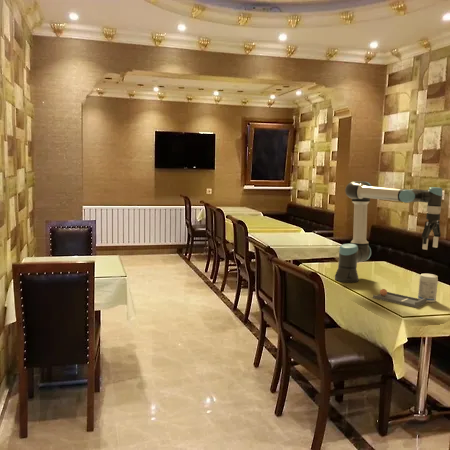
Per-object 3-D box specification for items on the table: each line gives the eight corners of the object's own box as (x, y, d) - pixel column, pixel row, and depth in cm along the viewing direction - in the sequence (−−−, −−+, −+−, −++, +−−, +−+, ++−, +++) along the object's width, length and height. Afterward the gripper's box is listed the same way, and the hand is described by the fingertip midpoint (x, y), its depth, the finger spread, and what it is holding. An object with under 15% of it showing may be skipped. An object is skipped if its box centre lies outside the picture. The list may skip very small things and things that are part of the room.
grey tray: (372, 297, 273) (373, 292, 273) (383, 293, 283) (383, 288, 283) (416, 307, 256) (416, 302, 256) (426, 303, 266) (426, 297, 266)
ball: (378, 295, 276) (379, 288, 276) (381, 294, 279) (382, 287, 278) (385, 297, 273) (385, 290, 273) (388, 295, 276) (388, 289, 276)
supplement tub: (421, 297, 279) (423, 272, 277) (438, 300, 272) (440, 275, 270) (415, 300, 272) (417, 274, 270) (432, 303, 265) (434, 278, 263)
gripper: (430, 214, 273) (426, 251, 276) (448, 213, 290) (445, 247, 292) (417, 213, 278) (414, 249, 281) (436, 211, 295) (433, 245, 298)
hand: (429, 248), depth 287 cm, fingers open, 13 cm apart
